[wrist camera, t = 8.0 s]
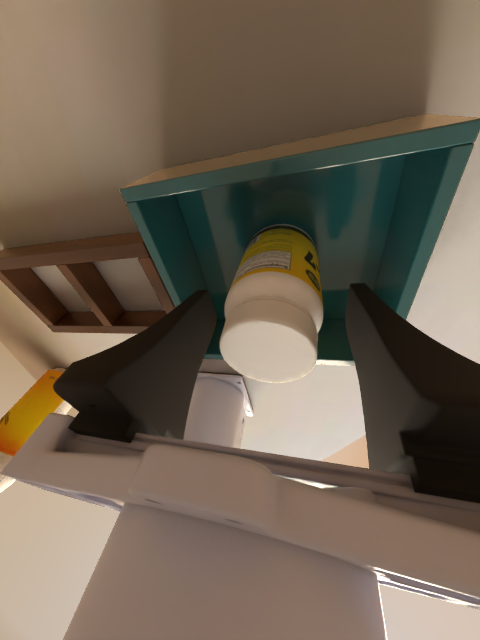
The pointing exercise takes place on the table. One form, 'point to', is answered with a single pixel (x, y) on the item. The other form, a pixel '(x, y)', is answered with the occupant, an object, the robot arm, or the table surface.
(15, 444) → the beer can
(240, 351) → the supplement bottle
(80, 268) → the frame
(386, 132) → the tray
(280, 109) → the table surface
